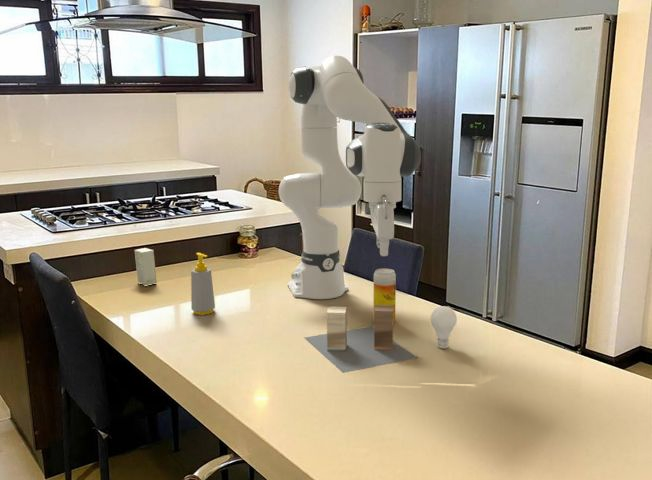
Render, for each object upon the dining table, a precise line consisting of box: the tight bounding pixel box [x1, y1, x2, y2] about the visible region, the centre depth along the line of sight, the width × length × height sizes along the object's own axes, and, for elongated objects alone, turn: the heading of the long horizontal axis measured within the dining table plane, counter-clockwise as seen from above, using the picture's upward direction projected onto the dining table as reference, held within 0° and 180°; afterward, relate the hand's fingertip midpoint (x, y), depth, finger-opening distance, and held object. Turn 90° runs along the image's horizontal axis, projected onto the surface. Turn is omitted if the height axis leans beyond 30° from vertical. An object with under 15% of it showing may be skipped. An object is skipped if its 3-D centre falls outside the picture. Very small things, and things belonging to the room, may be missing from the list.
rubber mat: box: [304, 325, 419, 374], centre depth 158 cm, size 24×20×1 cm
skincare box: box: [134, 247, 158, 285], centre depth 216 cm, size 6×4×12 cm
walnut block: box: [373, 305, 394, 350], centre depth 158 cm, size 4×4×10 cm
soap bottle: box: [190, 252, 216, 316], centre depth 185 cm, size 7×7×18 cm
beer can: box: [372, 268, 397, 323], centre depth 175 cm, size 6×6×15 cm
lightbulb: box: [430, 305, 458, 350], centre depth 156 cm, size 6×6×11 cm
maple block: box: [326, 306, 348, 352], centre depth 157 cm, size 4×4×10 cm
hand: (382, 251), depth 150 cm, fingers open, 8 cm apart
